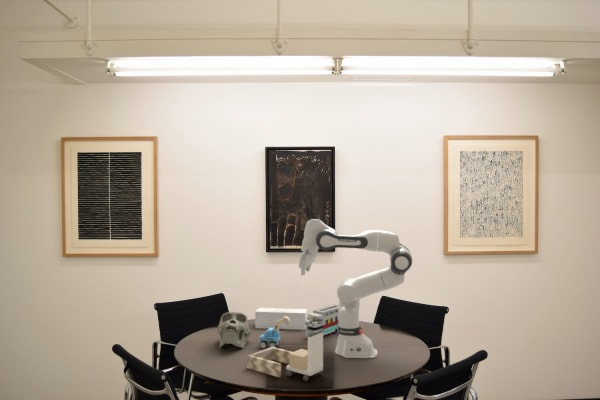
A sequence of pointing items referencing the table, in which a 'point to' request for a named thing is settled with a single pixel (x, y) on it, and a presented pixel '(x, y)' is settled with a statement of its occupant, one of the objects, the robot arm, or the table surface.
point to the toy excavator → (273, 334)
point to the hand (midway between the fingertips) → (305, 273)
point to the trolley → (308, 357)
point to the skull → (234, 329)
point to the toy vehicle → (323, 320)
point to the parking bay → (268, 360)
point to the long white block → (272, 315)
